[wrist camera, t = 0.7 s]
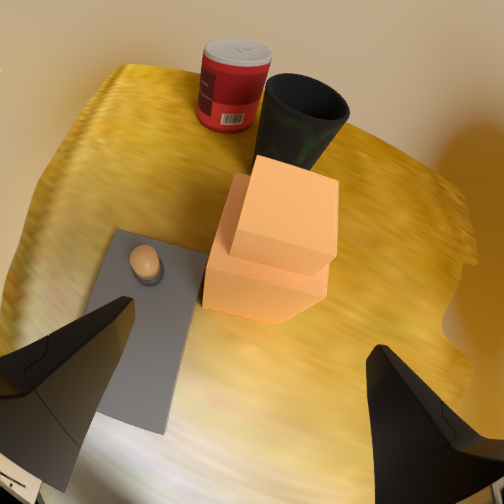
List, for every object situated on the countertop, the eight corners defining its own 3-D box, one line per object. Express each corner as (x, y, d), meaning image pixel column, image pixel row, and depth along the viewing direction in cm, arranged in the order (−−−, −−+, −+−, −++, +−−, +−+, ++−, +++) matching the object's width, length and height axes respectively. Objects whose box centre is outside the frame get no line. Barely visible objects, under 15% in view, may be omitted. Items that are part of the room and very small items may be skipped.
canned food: (264, 118, 35) (285, 53, 25) (229, 143, 32) (245, 68, 22) (223, 96, 36) (234, 33, 26) (185, 117, 32) (189, 47, 22)
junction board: (165, 431, 18) (158, 445, 14) (71, 394, 17) (48, 398, 13) (207, 260, 25) (210, 238, 21) (120, 236, 24) (109, 211, 20)
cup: (267, 145, 33) (294, 66, 22) (316, 179, 32) (360, 105, 21) (227, 176, 29) (247, 86, 19) (283, 217, 29) (329, 135, 18)
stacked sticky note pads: (276, 325, 24) (353, 280, 12) (202, 307, 23) (209, 242, 11) (287, 258, 27) (352, 174, 15) (220, 239, 26) (243, 138, 14)
